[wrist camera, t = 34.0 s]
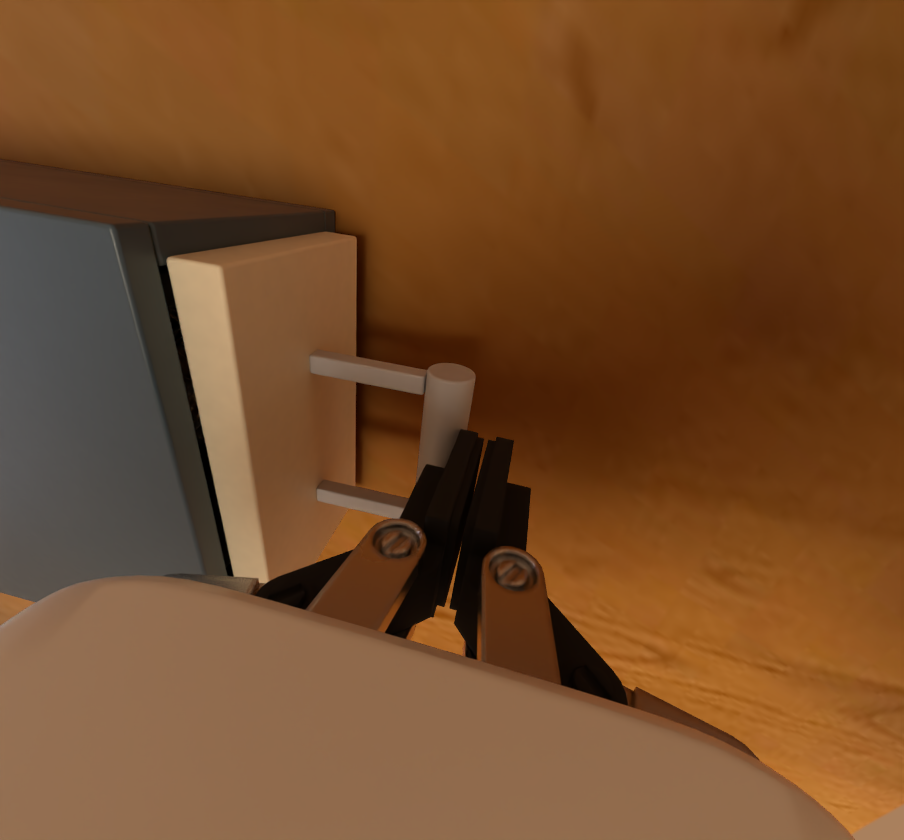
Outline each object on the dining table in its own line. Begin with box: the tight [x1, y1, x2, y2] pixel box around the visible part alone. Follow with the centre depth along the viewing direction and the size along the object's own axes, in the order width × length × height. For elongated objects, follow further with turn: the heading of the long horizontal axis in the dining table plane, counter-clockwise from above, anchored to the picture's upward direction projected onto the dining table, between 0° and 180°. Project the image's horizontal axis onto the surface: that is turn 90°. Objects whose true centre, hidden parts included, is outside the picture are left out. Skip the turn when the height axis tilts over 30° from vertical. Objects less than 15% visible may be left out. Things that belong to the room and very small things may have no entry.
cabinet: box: [0, 159, 335, 602], centre depth 14 cm, size 16×13×9 cm
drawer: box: [158, 232, 476, 583], centre depth 14 cm, size 19×11×7 cm, turn 83°
